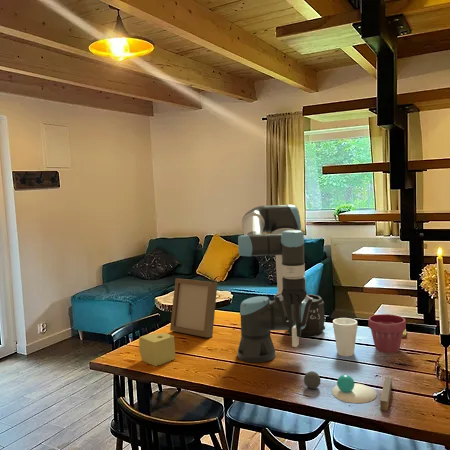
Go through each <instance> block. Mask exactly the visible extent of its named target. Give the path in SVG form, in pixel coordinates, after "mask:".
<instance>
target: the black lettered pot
mask: <svg viewBox="0 0 450 450" xmlns="http://www.w3.org/2000/svg"><path fill="white" fill-rule="evenodd" d="M307 295H308V296H309V297H312V298H313V299H314V300H313V301H312V303H311V305H310V310H309V314H308V319H307V323H306V326H305V328H304V329H301V336H300V337H299V338H301V337H302V338H312V337H319V336H320V335H321V334H323V333H324V330H326V327H325V318H326V317H325V302H324V300H323V298H322V297H321V296H320V295H316V294H310V293H307ZM305 300H306V299H305ZM287 331H288V332H289V330H287Z"/></svg>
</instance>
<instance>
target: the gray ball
mask: <svg viewBox="0 0 450 450" xmlns="http://www.w3.org/2000/svg"><path fill="white" fill-rule="evenodd" d="M321 381H322V380H321V377H320V375H319V374H318V373H317V372H315V371H309V372H306V373H305V375H304V376H303V382H304V385H305V386H306V387H307V388H309V389H311V390H314V389H317V388H318V387H319V386H320V385H321Z"/></svg>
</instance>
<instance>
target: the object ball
mask: <svg viewBox="0 0 450 450" xmlns="http://www.w3.org/2000/svg"><path fill="white" fill-rule="evenodd" d="M336 381H337V382H336V385H337V386H338V388H339V389H340V390H341V391H342V392H346V393H347V392H350V391H352V390H353V388H354V383H355V380H354V378H353V377H352V376H350V375H348V374H342V375H340V376H339V377H338V378H337V380H336Z"/></svg>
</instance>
